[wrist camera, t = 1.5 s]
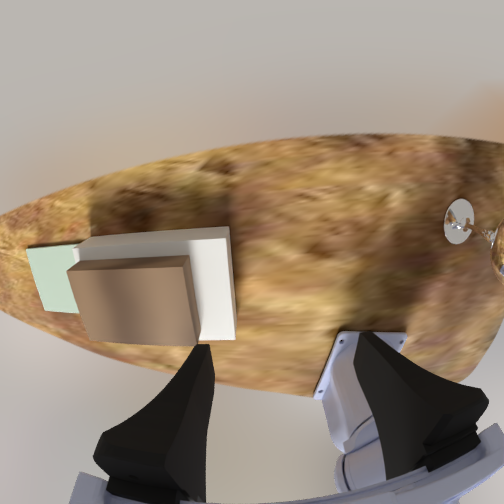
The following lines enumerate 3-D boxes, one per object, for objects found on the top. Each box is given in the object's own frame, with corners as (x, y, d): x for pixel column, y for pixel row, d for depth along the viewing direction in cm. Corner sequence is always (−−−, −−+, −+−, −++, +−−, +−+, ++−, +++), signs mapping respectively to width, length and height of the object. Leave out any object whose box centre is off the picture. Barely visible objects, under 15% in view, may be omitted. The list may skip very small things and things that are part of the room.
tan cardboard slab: (189, 254, 18) (182, 266, 16) (201, 329, 20) (197, 346, 18) (79, 260, 18) (66, 271, 16) (99, 326, 20) (89, 340, 18)
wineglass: (441, 259, 22) (526, 325, 10) (434, 202, 20) (539, 248, 8) (479, 238, 21) (561, 287, 10) (473, 184, 19) (570, 217, 8)
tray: (229, 226, 20) (225, 238, 18) (237, 318, 23) (235, 339, 20) (90, 236, 21) (72, 248, 18) (111, 317, 23) (99, 335, 20)
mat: (91, 242, 21) (90, 243, 20) (110, 313, 23) (109, 314, 23) (27, 248, 21) (25, 249, 20) (46, 309, 23) (45, 310, 23)
